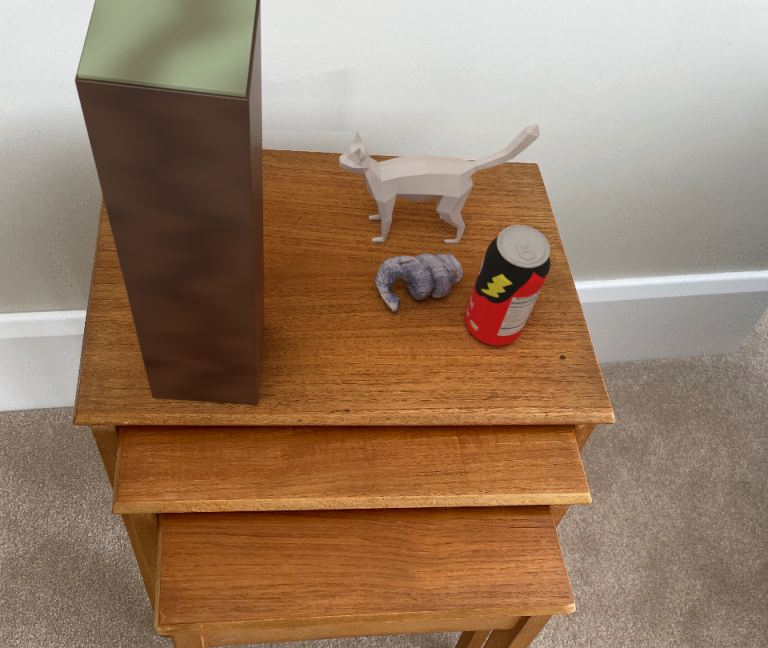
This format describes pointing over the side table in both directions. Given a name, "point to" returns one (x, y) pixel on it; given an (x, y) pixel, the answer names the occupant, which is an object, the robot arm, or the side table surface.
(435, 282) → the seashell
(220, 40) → the front stand
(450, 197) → the cat figurine
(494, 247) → the beverage can
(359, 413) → the side table surface
